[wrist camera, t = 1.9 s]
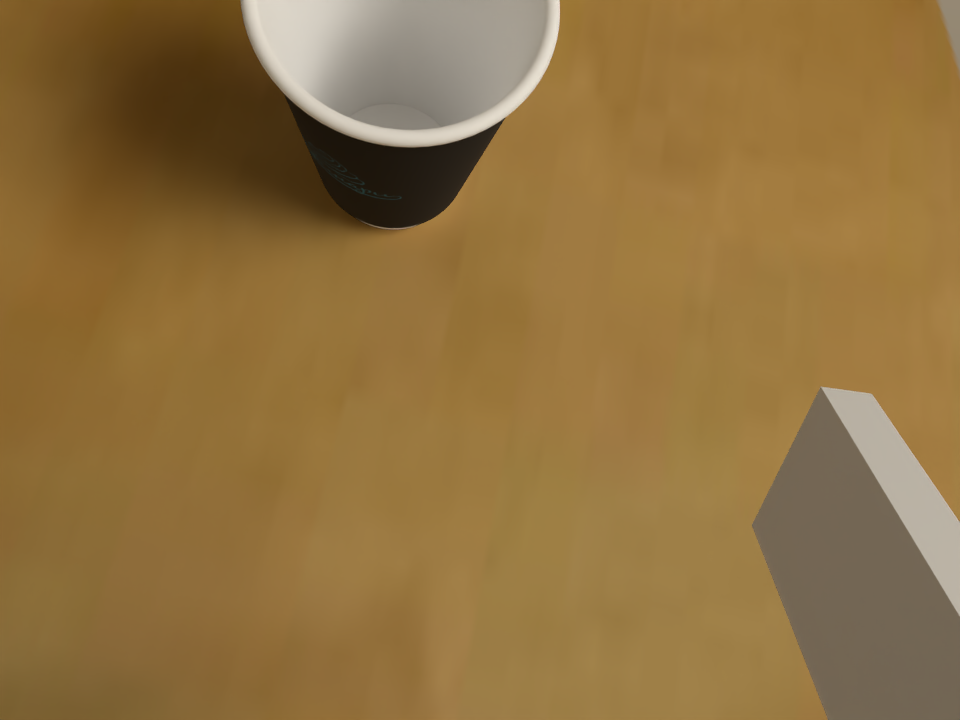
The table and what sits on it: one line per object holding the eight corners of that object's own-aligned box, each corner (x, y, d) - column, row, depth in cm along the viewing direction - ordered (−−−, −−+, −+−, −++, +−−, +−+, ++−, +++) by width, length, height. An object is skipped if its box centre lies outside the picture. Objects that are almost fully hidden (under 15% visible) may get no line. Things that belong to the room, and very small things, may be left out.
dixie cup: (277, 263, 30) (225, 127, 19) (292, 62, 31) (251, -170, 20) (493, 277, 31) (560, 156, 20) (498, 81, 32) (563, -129, 21)
